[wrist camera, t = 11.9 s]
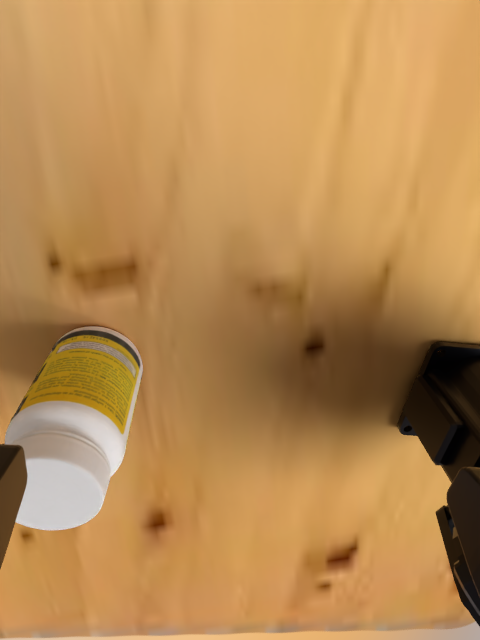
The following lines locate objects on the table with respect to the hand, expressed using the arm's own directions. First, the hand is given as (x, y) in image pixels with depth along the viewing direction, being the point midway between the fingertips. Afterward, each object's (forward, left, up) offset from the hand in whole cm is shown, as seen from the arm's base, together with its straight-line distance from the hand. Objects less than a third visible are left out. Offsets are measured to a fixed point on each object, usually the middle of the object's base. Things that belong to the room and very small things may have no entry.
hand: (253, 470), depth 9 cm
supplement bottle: (+6, +7, -13) cm, 16 cm away
